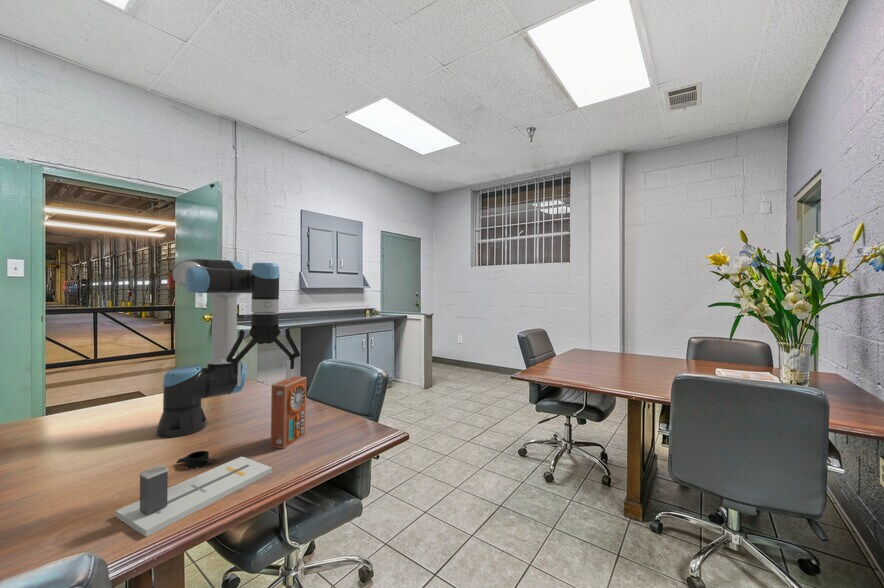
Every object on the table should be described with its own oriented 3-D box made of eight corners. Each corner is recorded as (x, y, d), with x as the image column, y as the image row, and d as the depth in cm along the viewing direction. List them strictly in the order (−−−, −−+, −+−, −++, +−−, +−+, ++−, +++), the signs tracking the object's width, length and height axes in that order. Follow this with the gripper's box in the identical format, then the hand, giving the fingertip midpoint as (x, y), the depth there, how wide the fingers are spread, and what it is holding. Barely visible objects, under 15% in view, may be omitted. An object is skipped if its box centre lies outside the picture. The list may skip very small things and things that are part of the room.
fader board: (115, 517, 83) (115, 510, 83) (241, 461, 111) (241, 455, 111) (146, 537, 77) (146, 529, 77) (271, 472, 105) (271, 467, 105)
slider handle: (139, 510, 83) (139, 472, 83) (159, 501, 87) (160, 464, 87) (147, 515, 82) (147, 476, 81) (167, 505, 85) (168, 468, 85)
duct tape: (193, 474, 103) (193, 464, 103) (174, 466, 108) (174, 456, 108) (220, 462, 110) (220, 453, 110) (200, 455, 115) (200, 446, 114)
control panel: (309, 432, 133) (283, 450, 119) (292, 431, 135) (265, 448, 120) (310, 376, 133) (284, 386, 118) (293, 374, 134) (266, 385, 120)
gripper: (217, 315, 99) (216, 390, 99) (310, 313, 112) (309, 380, 113) (217, 313, 106) (216, 384, 106) (305, 311, 119) (304, 374, 119)
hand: (264, 382), depth 109 cm, fingers open, 13 cm apart
